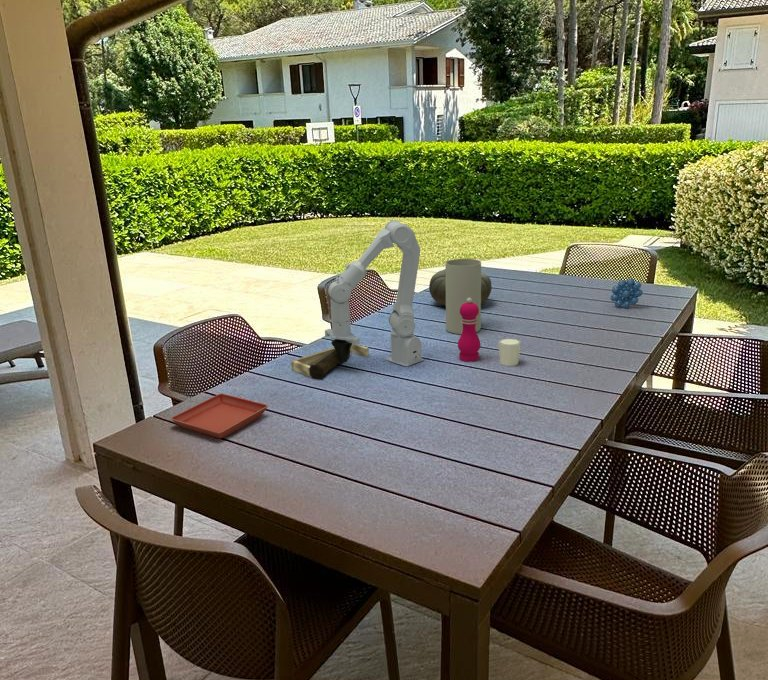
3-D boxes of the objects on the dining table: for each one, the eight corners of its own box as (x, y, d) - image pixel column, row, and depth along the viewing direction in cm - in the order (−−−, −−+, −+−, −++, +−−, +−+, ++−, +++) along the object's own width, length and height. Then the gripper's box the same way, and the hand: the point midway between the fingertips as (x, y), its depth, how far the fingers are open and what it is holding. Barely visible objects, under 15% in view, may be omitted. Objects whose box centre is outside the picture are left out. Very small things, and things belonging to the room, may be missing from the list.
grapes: (641, 306, 257) (644, 276, 253) (641, 310, 251) (643, 280, 247) (610, 304, 261) (612, 275, 257) (609, 308, 255) (611, 278, 251)
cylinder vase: (441, 333, 233) (440, 265, 226) (451, 323, 244) (451, 258, 237) (475, 336, 229) (476, 266, 221) (484, 326, 240) (484, 259, 232)
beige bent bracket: (369, 356, 213) (368, 347, 212) (309, 376, 198) (308, 367, 197) (350, 350, 220) (350, 341, 219) (291, 369, 204) (291, 360, 203)
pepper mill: (482, 355, 210) (483, 295, 204) (478, 363, 203) (478, 301, 197) (460, 353, 212) (460, 294, 206) (455, 361, 206) (455, 300, 199)
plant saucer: (220, 444, 158) (219, 432, 157) (170, 429, 167) (169, 417, 166) (270, 416, 172) (269, 405, 171) (222, 403, 182) (220, 392, 181)
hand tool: (322, 380, 195) (321, 363, 193) (309, 378, 197) (308, 361, 195) (358, 356, 214) (357, 340, 212) (345, 355, 216) (345, 339, 214)
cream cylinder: (522, 360, 204) (523, 339, 202) (517, 367, 198) (518, 346, 196) (501, 358, 207) (501, 337, 205) (495, 365, 201) (495, 343, 199)
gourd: (449, 288, 286) (452, 251, 278) (499, 303, 274) (504, 265, 265) (417, 306, 268) (420, 268, 260) (470, 324, 256) (474, 284, 248)
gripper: (316, 319, 202) (319, 359, 206) (346, 327, 192) (348, 370, 196) (333, 314, 206) (336, 354, 211) (363, 322, 196) (366, 364, 201)
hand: (343, 361), depth 204 cm, fingers closed
